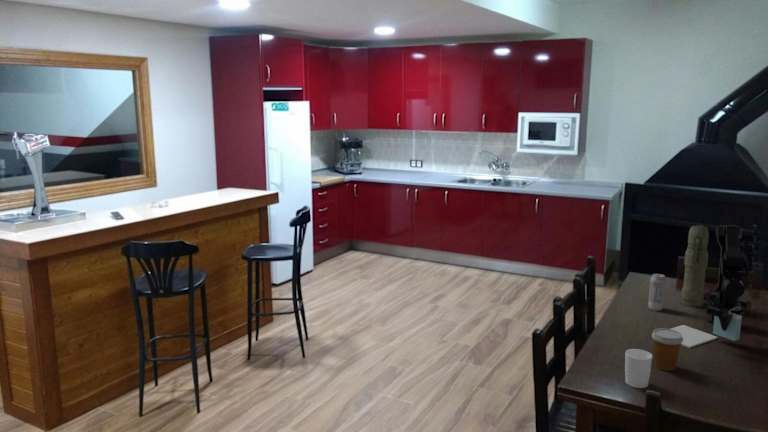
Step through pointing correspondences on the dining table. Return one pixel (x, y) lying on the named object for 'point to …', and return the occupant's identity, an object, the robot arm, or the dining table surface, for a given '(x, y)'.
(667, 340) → the disposable coffee cup
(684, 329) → the mat
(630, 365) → the white cup
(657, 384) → the dining table surface
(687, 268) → the thermos
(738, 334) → the slab
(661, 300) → the energy drink can
